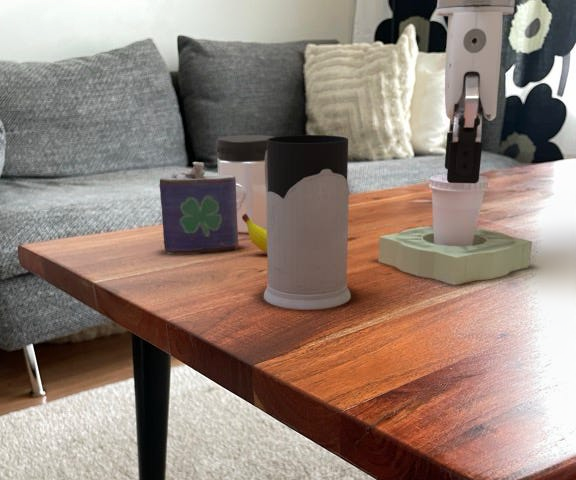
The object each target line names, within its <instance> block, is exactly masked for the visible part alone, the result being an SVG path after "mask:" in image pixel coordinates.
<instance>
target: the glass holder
mask: <svg viewBox="0 0 576 480" xmlns="http://www.w3.org/2000/svg"><path fill="white" fill-rule="evenodd" d="M348 163H349V138H348V137H344V136H339V135H324V134H295V135H294V134H293V135H280V136H273V137H272V138H268V139H267V151H266V154H265V166H264V170H265V186H266V215H267V252H266V253H267V254H266V255H267V256H266V257H267V258H266V260H267V285H266V288H265V290H264V293H263V299H264V301H266V302H267V303H269V304H271V305H273V306H276V307H278V308H279V307H280V308H283V309H289V310H290V309H291V310H302V311H304V310H305V311H306V310H307V311H310V310H312V311H314V310H324V309H325V310H326V309H330V308H335V307H339V306H341V305H344V304H346V303H347V302H349V301H350V300H351V297H352V296H351V291H350V289H349V288H348V283H347V280H348V279H347V275H348V244H349V243H348V242H349V240H348V239H349V203H350V202H349V200H350V189H349V183H348V172H349V171H348V170H349V169H348V167H349V166H348V165H349V164H348Z"/></svg>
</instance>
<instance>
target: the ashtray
mask: <svg viewBox="0 0 576 480" xmlns="http://www.w3.org/2000/svg"><path fill="white" fill-rule="evenodd" d="M378 237H379V240H378V258H377V259H378V260H377V262H378V263H381V264H384V265H388V266H392V267H393V268H397V269H398V270H399V271H401V272H404V273H407V274H410V275H412V276H416V277H419V278H425V279H426V278H427V279H432V280H436V281H439V282H443V283H446V284H449V285H452V286H458V285H463V284H466V283H470V282H475V281H485V280H487V281H488V280H492V279H496V278H500V277H505V276H508V274H510V273H511V272H515V271H519V270H522V269H526V268H529V265H530V257H531V253H532V243H533V241H532V240H528V239H524V238H520V237H515V236H510V235H509V234H506V233H503V232H500V231H496V230H490V229H487V228H478V227H476V231H475V235H474V240H473V244H472V246H446V245H438V244H434V229H433V226H420V227H414V228H410V229H409V228H408V229H404V230H402V231H400V232H395V233H391V234H385V235H380V236H378Z"/></svg>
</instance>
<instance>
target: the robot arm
mask: <svg viewBox="0 0 576 480" xmlns="http://www.w3.org/2000/svg"><path fill="white" fill-rule="evenodd" d="M515 2H516V0H437V3H436V16H437V17H439V16H440V17H448V19H447V33H446V48H445V63H444V64H445V68H444V70H445V71H444V106H445V115H446V117H447V118H448V119H449V130H448V131H449V132H448V131H447V132H446V141H445V157H444V168H445V169H446V170H447V171H446V174H447V181H448V182H449V183H477V182H478V181H479V176H480V172H481V164H482V163H481V161H482V153H483V152H482V151H483V141H482V133H483V132H482V130H483V117H484V118H485V119H486V120H487V121H488V122H489V121H493V120H494V119H495V118H496V117H497V110H498V96H499V95H498V93H499V84H500V83H499V81H500V71H501V57H502V48H503V47H502V45H503V26H504V25H503V19H504V17H503V16H507V15H513V14H515V13H514V12H515V11H514V10H515Z"/></svg>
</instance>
